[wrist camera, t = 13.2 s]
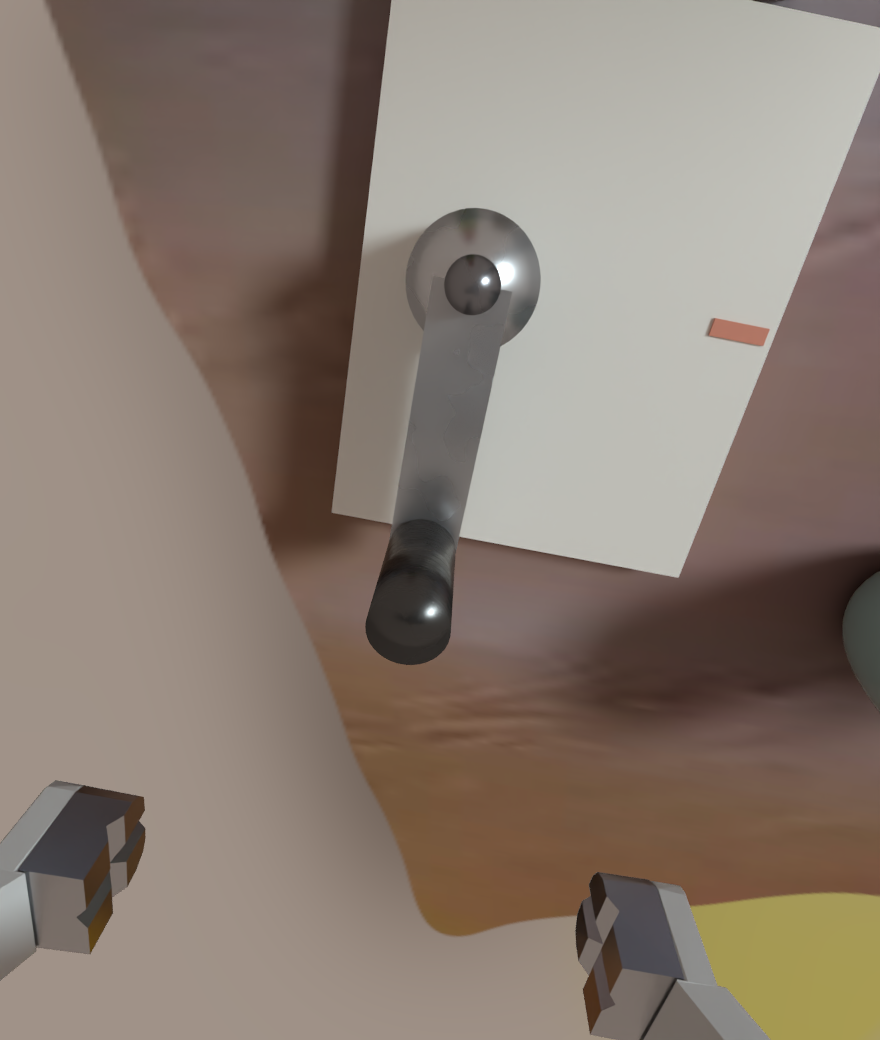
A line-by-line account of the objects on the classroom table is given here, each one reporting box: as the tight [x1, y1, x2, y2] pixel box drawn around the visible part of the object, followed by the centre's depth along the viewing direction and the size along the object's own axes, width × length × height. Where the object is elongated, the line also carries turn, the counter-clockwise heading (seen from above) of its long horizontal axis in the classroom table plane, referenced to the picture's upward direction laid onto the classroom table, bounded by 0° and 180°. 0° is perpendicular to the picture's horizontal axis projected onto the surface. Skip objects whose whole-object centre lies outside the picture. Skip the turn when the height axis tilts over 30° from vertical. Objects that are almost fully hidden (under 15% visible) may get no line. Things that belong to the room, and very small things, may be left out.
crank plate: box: [332, 0, 880, 578], centre depth 22 cm, size 19×15×2 cm
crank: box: [366, 208, 541, 665], centre depth 19 cm, size 12×4×8 cm, turn 170°
